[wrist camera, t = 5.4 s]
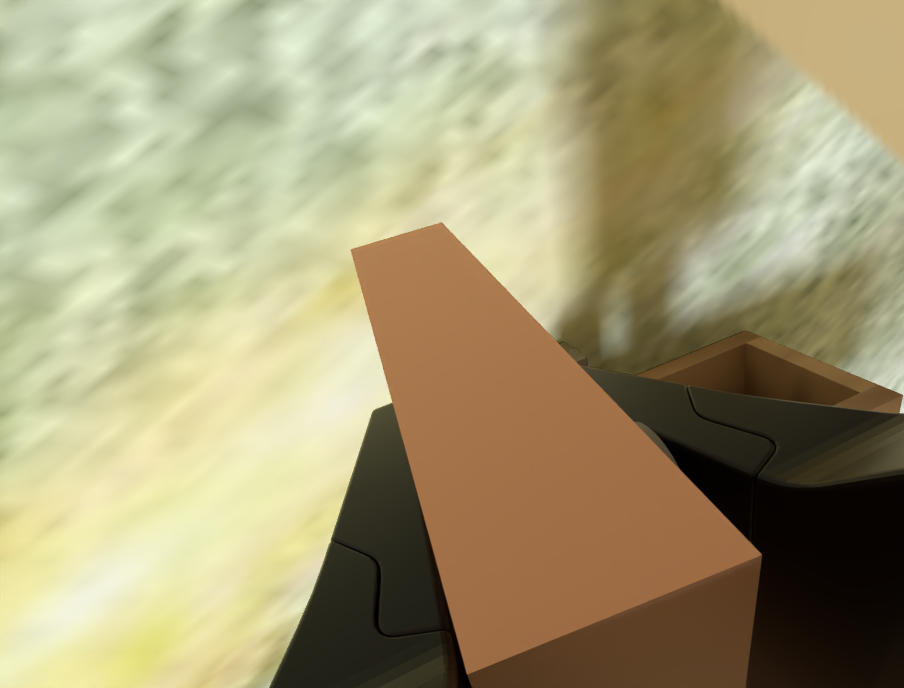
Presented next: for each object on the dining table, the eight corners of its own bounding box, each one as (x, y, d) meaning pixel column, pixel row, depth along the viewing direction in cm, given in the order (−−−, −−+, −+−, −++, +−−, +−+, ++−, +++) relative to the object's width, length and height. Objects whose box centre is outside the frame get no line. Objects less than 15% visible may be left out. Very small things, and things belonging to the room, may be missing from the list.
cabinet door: (548, 589, 16) (736, 983, 9) (475, 618, 16) (610, 1046, 9) (470, 213, 10) (850, 519, 3) (350, 249, 10) (466, 674, 3)
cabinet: (740, 443, 32) (874, 530, 25) (543, 535, 29) (632, 662, 22) (745, 330, 29) (902, 394, 22) (521, 422, 26) (619, 530, 19)
